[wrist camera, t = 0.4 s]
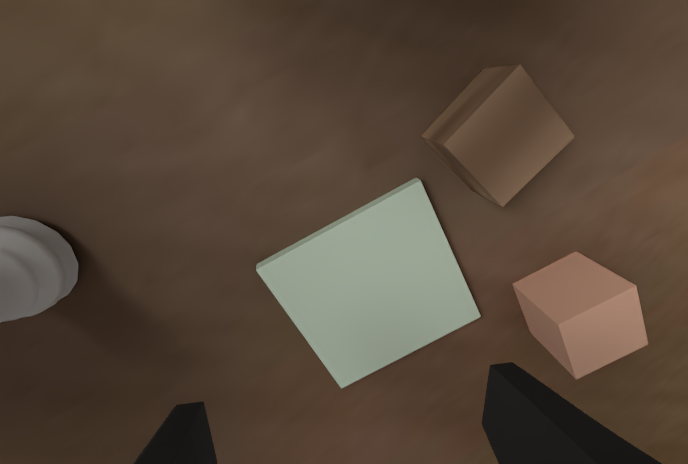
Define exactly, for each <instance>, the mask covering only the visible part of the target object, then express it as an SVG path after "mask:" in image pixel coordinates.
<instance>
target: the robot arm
mask: <svg viewBox="0 0 688 464" xmlns="http://www.w3.org/2000/svg"><path fill="white" fill-rule="evenodd" d="M482 425H483V428H484V430H485V432H486V435H487V437H488V440H489V442H490V444H491V447H492V449H493V451H494V453H495V456H496V458H497V460H498V462H499V464H661V463H660V462H658V461H657V460H655V459H653V458H652V457H650V456H649V455H647V454H646V453H644V452H642V451H641V450H639V449H638V448H636V447H635V446H633V445H631V444H630V443H628V442H627V441H625V440H624V439H622V438H621V437H619V436H618V435H616V434H615V433H613V432H612V431H610V430H609V429H607V428H606V427H604V426H603V425H601V424H600V423H598V422H597V421H595V420H594V419H592V418H591V417H589V416H588V415H587V414H585V413H584V412H582V411H581V410H579V409H578V408H577V407H575V406H574V405H572V404H571V403H569V402H568V401H567V400H565V399H564V398H562V397H561V396H560V395H558V394H557V393H555V392H554V391H552V390H551V389H550V388H548V387H547V386H545V385H544V384H543V383H541V382H540V381H538V380H537V379H536V378H534V377H533V376H531V375H530V374H529V373H527V372H526V371H524V370H523V369H521V368H520V367H518V366H517V365H515V364H514V363H512V362H511V363H503V364H495V365H490V369H489V376H488V383H487V390H486V398H485V405H484V412H483V419H482ZM134 464H217V459H216V454H215V450H214V446H213V441H212V437H211V432H210V428H209V424H208V419H207V415H206V411H205V406H204V402H196V403H188V404H180V405H176V406H175V408H174V409H173V410H172V411H171V413H170V414H169V415H168V417H167V418H166V420H165V421H164V422H163V424H162V425H161V427H160V428H159V429H158V431H157V432H156V433H155V435H154V436H153V438H152V439H151V440H150V442H149V443H148V445H147V446H146V447H145V449H144V450H143V451H142V453H141V454H140V455H139V457H138V458H137V460H136V461H135V462H134Z"/></svg>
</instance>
